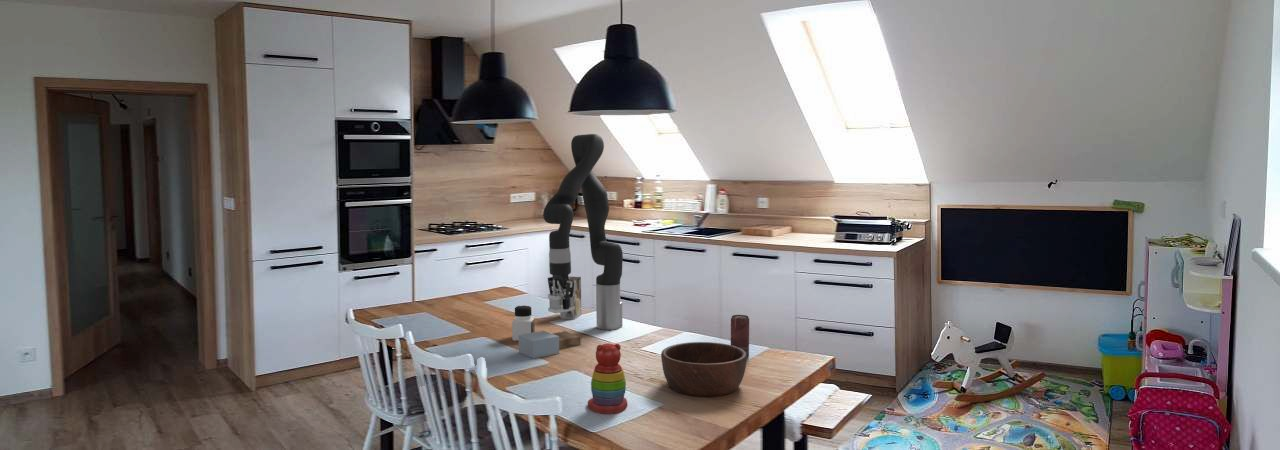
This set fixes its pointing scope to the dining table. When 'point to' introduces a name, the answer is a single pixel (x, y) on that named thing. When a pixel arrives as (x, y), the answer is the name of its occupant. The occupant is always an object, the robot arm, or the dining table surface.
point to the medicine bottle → (522, 322)
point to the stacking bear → (608, 381)
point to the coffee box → (576, 300)
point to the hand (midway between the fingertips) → (561, 307)
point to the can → (740, 332)
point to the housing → (555, 303)
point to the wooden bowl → (704, 368)
